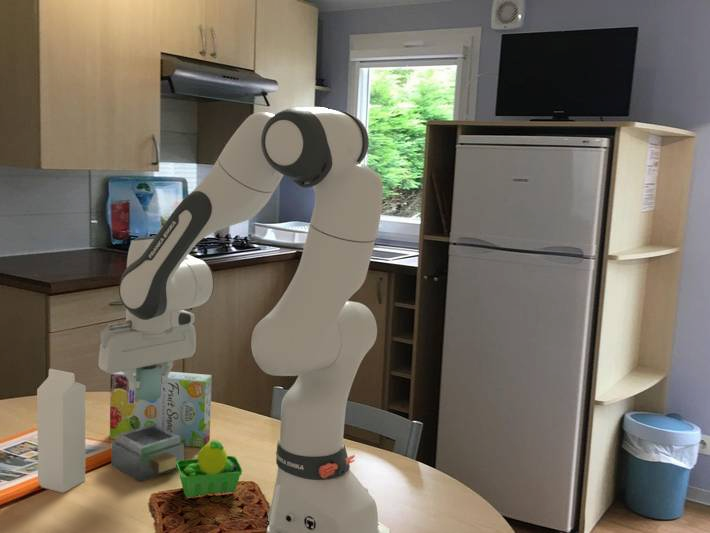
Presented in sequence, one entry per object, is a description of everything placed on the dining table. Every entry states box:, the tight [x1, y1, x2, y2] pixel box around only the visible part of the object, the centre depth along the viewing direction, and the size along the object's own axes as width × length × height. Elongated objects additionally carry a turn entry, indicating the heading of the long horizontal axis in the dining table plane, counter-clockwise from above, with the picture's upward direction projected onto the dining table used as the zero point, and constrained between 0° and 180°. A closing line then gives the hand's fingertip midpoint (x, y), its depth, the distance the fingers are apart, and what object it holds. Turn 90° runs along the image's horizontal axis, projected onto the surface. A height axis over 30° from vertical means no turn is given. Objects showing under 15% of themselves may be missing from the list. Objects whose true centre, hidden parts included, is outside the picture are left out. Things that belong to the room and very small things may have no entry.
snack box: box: [109, 371, 213, 449], centre depth 162 cm, size 21×6×15 cm, turn 84°
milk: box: [36, 368, 86, 494], centre depth 138 cm, size 6×6×22 cm
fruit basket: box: [176, 439, 243, 498], centre depth 139 cm, size 11×9×11 cm
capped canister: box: [135, 363, 163, 400], centre depth 146 cm, size 5×5×7 cm
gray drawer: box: [111, 424, 185, 483], centre depth 148 cm, size 12×10×6 cm
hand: (148, 385), depth 147 cm, fingers closed on capped canister, 5 cm apart
